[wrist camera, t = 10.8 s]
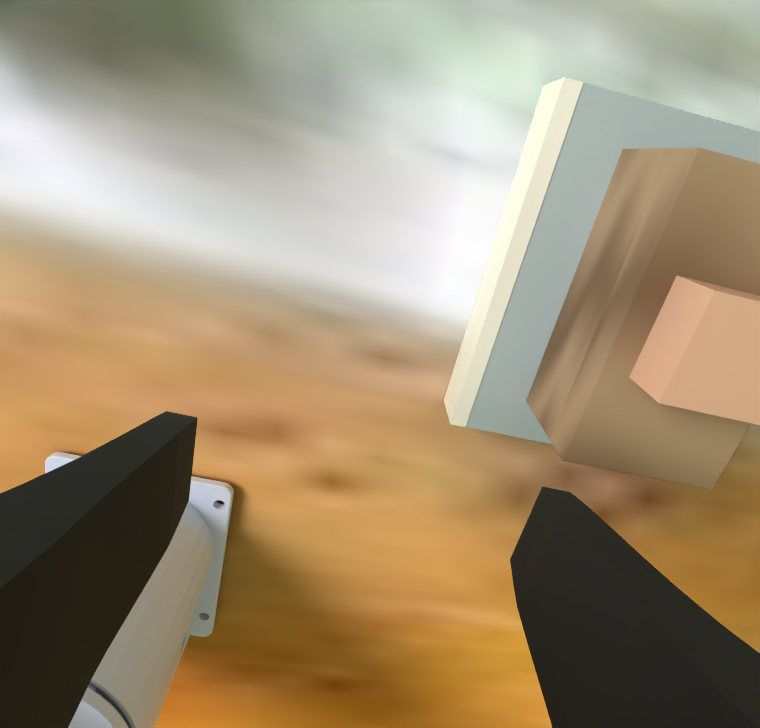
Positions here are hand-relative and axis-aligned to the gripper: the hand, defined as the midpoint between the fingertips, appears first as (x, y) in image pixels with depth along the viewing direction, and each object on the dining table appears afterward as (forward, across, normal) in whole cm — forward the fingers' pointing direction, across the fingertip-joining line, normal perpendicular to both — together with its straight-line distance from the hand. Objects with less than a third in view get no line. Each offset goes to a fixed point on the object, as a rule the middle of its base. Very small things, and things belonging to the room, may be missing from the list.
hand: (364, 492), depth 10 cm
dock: (+11, -9, -4) cm, 14 cm away
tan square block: (+5, -9, -4) cm, 10 cm away
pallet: (+8, -9, -4) cm, 13 cm away
